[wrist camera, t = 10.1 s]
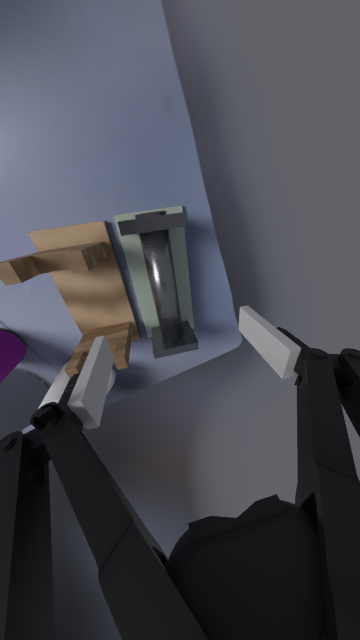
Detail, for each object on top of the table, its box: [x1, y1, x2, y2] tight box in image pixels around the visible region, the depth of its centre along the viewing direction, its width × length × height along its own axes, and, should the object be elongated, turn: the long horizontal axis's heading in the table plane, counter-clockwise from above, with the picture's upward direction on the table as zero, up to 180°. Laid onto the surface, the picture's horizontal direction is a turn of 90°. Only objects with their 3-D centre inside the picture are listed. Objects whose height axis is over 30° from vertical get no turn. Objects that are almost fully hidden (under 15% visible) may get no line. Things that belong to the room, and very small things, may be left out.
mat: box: [113, 206, 195, 338], centre depth 30 cm, size 22×10×1 cm, turn 7°
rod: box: [117, 211, 199, 359], centre depth 27 cm, size 21×8×8 cm, turn 7°
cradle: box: [0, 221, 141, 378], centre depth 25 cm, size 21×10×11 cm, turn 7°
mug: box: [38, 361, 115, 426], centre depth 32 cm, size 12×8×10 cm
